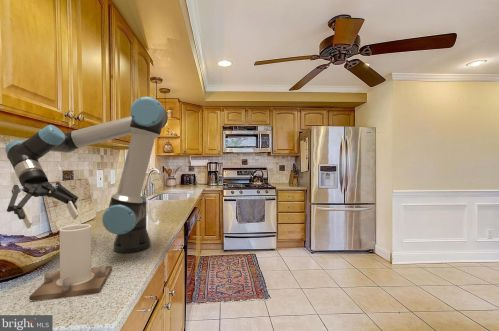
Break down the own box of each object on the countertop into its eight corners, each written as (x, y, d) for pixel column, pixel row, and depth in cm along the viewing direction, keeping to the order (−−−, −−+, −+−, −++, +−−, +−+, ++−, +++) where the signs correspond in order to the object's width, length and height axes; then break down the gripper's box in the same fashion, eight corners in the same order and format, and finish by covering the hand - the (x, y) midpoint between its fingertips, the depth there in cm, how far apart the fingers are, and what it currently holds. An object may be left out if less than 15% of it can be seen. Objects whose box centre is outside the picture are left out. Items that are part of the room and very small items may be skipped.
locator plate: (111, 269, 92) (111, 257, 92) (99, 292, 76) (99, 277, 76) (55, 275, 88) (55, 262, 88) (29, 301, 71) (29, 285, 71)
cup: (87, 270, 88) (86, 222, 88) (94, 277, 82) (94, 226, 82) (57, 278, 82) (56, 227, 82) (63, 286, 76) (62, 231, 76)
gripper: (65, 180, 106) (88, 220, 99) (-19, 185, 84) (2, 237, 77) (72, 167, 104) (96, 207, 97) (-13, 169, 82) (10, 221, 75)
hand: (54, 221), depth 87 cm, fingers open, 13 cm apart
